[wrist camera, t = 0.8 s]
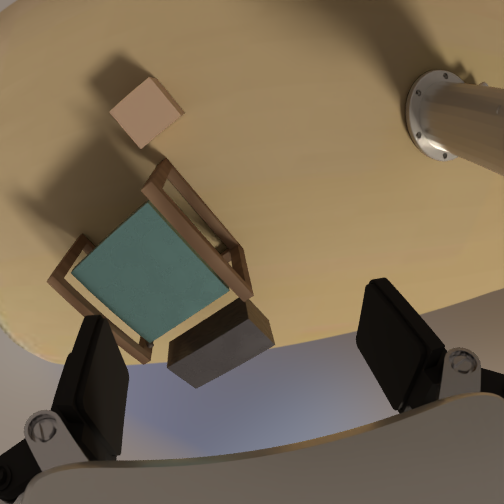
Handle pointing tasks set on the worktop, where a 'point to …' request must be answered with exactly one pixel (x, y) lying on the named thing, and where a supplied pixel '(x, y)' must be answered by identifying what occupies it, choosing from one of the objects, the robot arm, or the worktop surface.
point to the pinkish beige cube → (146, 111)
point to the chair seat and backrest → (172, 297)
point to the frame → (218, 262)
